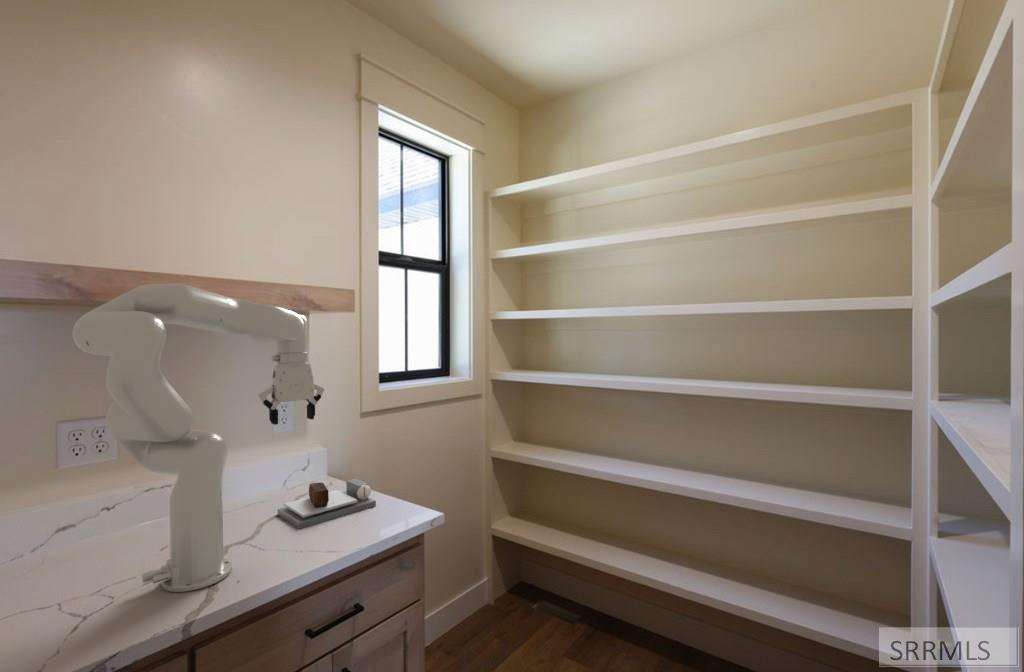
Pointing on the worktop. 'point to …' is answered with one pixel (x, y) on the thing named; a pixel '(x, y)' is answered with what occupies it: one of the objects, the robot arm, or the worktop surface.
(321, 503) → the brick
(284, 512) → the scale
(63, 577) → the worktop surface
